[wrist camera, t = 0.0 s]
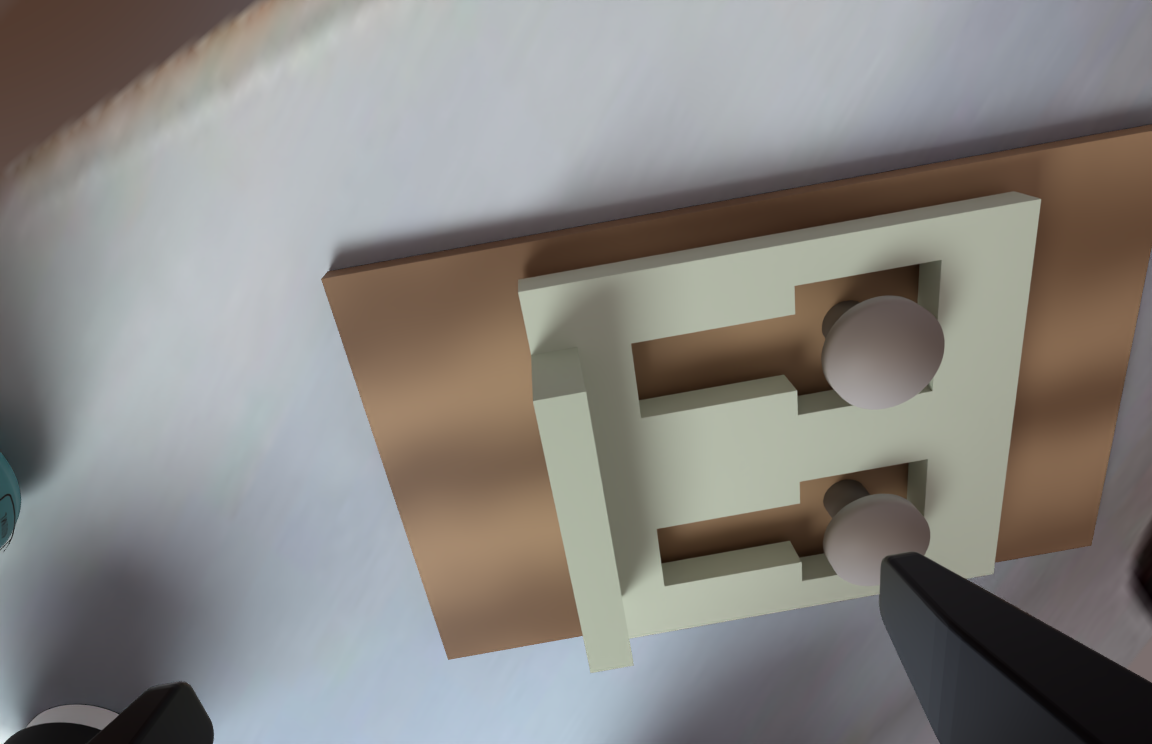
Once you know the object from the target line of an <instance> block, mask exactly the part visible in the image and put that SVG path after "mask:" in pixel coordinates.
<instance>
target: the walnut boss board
mask: <svg viewBox="0 0 1152 744" xmlns="http://www.w3.org/2000/svg"><path fill="white" fill-rule="evenodd" d="M1013 191H1015V192H1019V193H1022V194H1026V195H1029V196H1033V197H1036V198H1040V199H1041V205H1040V213H1039V221H1038V229H1037V237H1036V244H1035V252H1034V260H1033V268H1032V276H1031V283H1030V291H1029V299H1028V307H1027V315H1026V323H1025V330H1024V338H1023V346H1022V354H1021V362H1020V369H1019V377H1018V385H1017V393H1016V401H1015V409H1014V416H1013V424H1012V432H1011V440H1010V448H1009V455H1008V463H1007V471H1006V479H1005V487H1004V495H1003V502H1002V510H1001V518H1000V526H999V534H998V542H997V549H996V557H995V562H1001V561H1007V560H1012V559H1018V558H1023V557H1029V556H1035V555H1040V554H1046V553H1052V552H1057V551H1063V550H1068V549H1074V548H1080V547H1085V546H1091V545H1092V540H1093V535H1094V530H1095V525H1096V520H1097V515H1098V510H1099V505H1100V500H1101V495H1102V490H1103V485H1104V480H1105V475H1106V470H1107V465H1108V460H1109V455H1110V450H1111V446H1112V441H1113V436H1114V431H1115V426H1116V421H1117V416H1118V411H1119V406H1120V401H1121V396H1122V391H1123V386H1124V381H1125V376H1126V371H1127V366H1128V361H1129V356H1130V351H1131V347H1132V342H1133V337H1134V332H1135V327H1136V322H1137V317H1138V312H1139V307H1140V302H1141V297H1142V292H1143V287H1144V282H1145V277H1146V272H1147V267H1148V262H1149V257H1150V252H1151V248H1152V124H1151V125H1145V126H1140V127H1134V128H1129V129H1123V130H1117V131H1112V132H1106V133H1101V134H1095V135H1089V136H1084V137H1078V138H1073V139H1067V140H1061V141H1056V142H1050V143H1045V144H1039V145H1033V146H1028V147H1022V148H1017V149H1011V150H1005V151H1000V152H994V153H989V154H983V155H977V156H972V157H966V158H961V159H955V160H949V161H944V162H938V163H933V164H927V165H921V166H916V167H910V168H904V169H899V170H893V171H888V172H882V173H876V174H871V175H865V176H860V177H854V178H848V179H843V180H837V181H832V182H826V183H820V184H815V185H809V186H804V187H798V188H792V189H787V190H781V191H776V192H770V193H764V194H759V195H753V196H748V197H742V198H736V199H731V200H725V201H720V202H714V203H708V204H703V205H697V206H692V207H686V208H680V209H675V210H669V211H664V212H658V213H652V214H647V215H641V216H636V217H630V218H624V219H619V220H613V221H608V222H602V223H596V224H591V225H585V226H579V227H574V228H568V229H563V230H557V231H551V232H546V233H540V234H535V235H529V236H523V237H518V238H512V239H507V240H501V241H495V242H490V243H484V244H479V245H473V246H467V247H462V248H456V249H451V250H445V251H439V252H434V253H428V254H423V255H417V256H411V257H406V258H400V259H395V260H389V261H383V262H378V263H372V264H367V265H361V266H355V267H350V268H344V269H339V270H333V271H328V272H327V273H326V274H325V275H324V277H323V278H322V279H321V280H322V283H323V286H324V289H325V292H326V295H327V298H328V301H329V304H330V307H331V310H332V313H333V316H334V319H335V322H336V325H337V328H338V331H339V334H340V337H341V340H342V343H343V346H344V349H345V352H346V355H347V358H348V361H349V364H350V367H351V370H352V373H353V376H354V379H355V382H356V385H357V388H358V391H359V394H360V397H361V400H362V403H363V406H364V409H365V412H366V415H367V418H368V421H369V424H370V427H371V430H372V433H373V436H374V439H375V442H376V445H377V448H378V451H379V454H380V457H381V460H382V463H383V466H384V469H385V472H386V475H387V478H388V481H389V484H390V487H391V490H392V493H393V496H394V499H395V502H396V505H397V508H398V511H399V514H400V517H401V520H402V522H403V525H404V528H405V531H406V534H407V537H408V540H409V543H410V546H411V549H412V552H413V555H414V558H415V561H416V564H417V567H418V570H419V573H420V576H421V579H422V582H423V585H424V588H425V591H426V594H427V597H428V600H429V603H430V606H431V609H432V612H433V615H434V618H435V621H436V624H437V627H438V630H439V633H440V636H441V639H442V642H443V645H444V648H445V651H446V654H447V657H448V660H449V659H455V658H461V657H466V656H472V655H478V654H483V653H489V652H494V651H500V650H506V649H511V648H517V647H523V646H528V645H534V644H539V643H545V642H551V641H556V640H562V639H568V638H573V637H579V636H583V634H582V630H581V625H580V620H579V615H578V611H577V606H576V601H575V597H574V592H573V587H572V583H571V578H570V573H569V568H568V564H567V559H566V554H565V550H564V545H563V540H562V536H561V531H560V526H559V521H558V517H557V512H556V507H555V503H554V498H553V493H552V489H551V484H550V479H549V475H548V470H547V465H546V460H545V456H544V451H543V446H542V442H541V437H540V432H539V428H538V423H537V418H536V413H535V409H534V404H533V391H532V364H531V352H530V347H529V342H528V338H527V333H526V328H525V323H524V318H523V313H522V309H521V304H520V299H519V294H518V280H519V279H525V278H530V277H536V276H542V275H547V274H553V273H558V272H564V271H570V270H575V269H581V268H586V267H592V266H598V265H603V264H609V263H615V262H620V261H626V260H631V259H637V258H643V257H648V256H654V255H659V254H665V253H671V252H676V251H682V250H687V249H693V248H699V247H704V246H710V245H715V244H721V243H727V242H732V241H738V240H743V239H749V238H755V237H760V236H766V235H771V234H777V233H783V232H788V231H794V230H800V229H805V228H811V227H816V226H822V225H828V224H833V223H839V222H844V221H850V220H856V219H861V218H867V217H872V216H878V215H884V214H889V213H895V212H900V211H906V210H912V209H917V208H923V207H928V206H934V205H940V204H945V203H951V202H956V201H962V200H968V199H973V198H979V197H985V196H990V195H996V194H1001V193H1007V192H1013ZM919 266H920V264H915V265H909V266H904V267H898V268H893V269H887V270H881V271H876V272H870V273H865V274H859V275H853V276H848V277H842V278H836V279H831V280H825V281H820V282H814V283H808V284H803V285H797V286H794V287H795V314H794V315H789V316H783V317H777V318H772V319H766V320H761V321H755V322H749V323H744V324H738V325H733V326H727V327H721V328H716V329H710V330H704V331H699V332H693V333H688V334H682V335H676V336H671V337H665V338H660V339H654V340H648V341H643V342H637V343H632V344H631V348H632V355H633V362H634V370H635V377H636V384H637V391H638V399H639V400H644V399H649V398H655V397H661V396H666V395H672V394H678V393H683V392H689V391H694V390H700V389H706V388H711V387H717V386H722V385H728V384H734V383H739V382H745V381H751V380H756V379H762V378H767V377H773V376H779V375H785V376H786V378H787V379H788V380H789V381H790V382H791V384H792V385H793V386H794V387H795V389H796V390H797V396H801V395H806V394H812V393H817V392H823V391H829V390H835V391H836V392H837V393H838V394H839V395H840V397H842V398H843V399H844V400H845V401H846V402H848V403H850V404H851V405H854V406H856V407H859V408H863V409H871V410H878V409H886V408H890V407H894V406H896V405H899V404H902V403H904V402H906V401H908V400H909V399H911V398H913V397H914V396H915V395H917V394H918V393H919V392H921V391H922V390H923V389H924V388H925V387H926V386H927V385H928V384H929V382H930V381H931V380H932V379H933V377H934V376H935V374H936V372H937V371H938V369H939V367H940V364H941V362H942V358H943V355H944V348H945V340H944V334H943V330H942V327H941V325H940V323H939V322H938V320H937V319H936V318H935V316H934V315H933V314H931V313H930V312H929V311H928V310H926V309H925V308H923V307H922V306H920V305H918V304H917V303H918V284H919ZM908 467H909V462H908V463H903V464H897V465H891V466H886V467H880V468H875V469H869V470H863V471H858V472H852V473H846V474H841V475H835V476H830V477H824V478H818V479H813V480H807V481H802V482H800V504H794V505H789V506H783V507H777V508H772V509H766V510H761V511H755V512H749V513H744V514H738V515H732V516H727V517H721V518H716V519H710V520H704V521H699V522H693V523H687V524H682V525H676V526H671V527H665V528H659V529H657V536H658V543H659V551H660V558H661V564H662V563H667V562H673V561H678V560H684V559H690V558H695V557H701V556H707V555H712V554H718V553H723V552H729V551H735V550H740V549H746V548H752V547H757V546H763V545H768V544H774V543H780V542H785V541H790V542H791V544H792V546H793V547H794V549H795V551H796V553H797V555H798V556H799V558H801V557H806V556H812V555H818V554H823V553H825V555H826V558H827V559H828V561H829V563H830V564H831V566H832V568H833V569H834V571H835V572H836V573H837V575H838V576H839V577H841V578H842V579H843V580H845V581H847V582H849V583H852V584H855V585H860V586H876V585H880V566H881V562H882V559H883V558H884V557H886V556H888V555H893V554H899V553H904V552H910V551H912V552H917V553H920V554H922V555H925V553H926V551H927V549H928V546H929V543H930V528H929V525H928V522H927V521H926V519H925V518H924V517H923V515H922V514H921V513H920V512H919V511H918V510H917V509H916V507H915V506H914V505H913V504H912V503H911V502H910V501H908V500H907V485H908Z"/></svg>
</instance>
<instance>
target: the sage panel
mask: <svg viewBox="0 0 1152 744" xmlns="http://www.w3.org/2000/svg"><path fill="white" fill-rule="evenodd" d="M1040 205H1041V199H1040V198H1036V197H1033V196H1029V195H1026V194H1022V193H1019V192H1015V191H1013V192H1007V193H1001V194H996V195H990V196H985V197H979V198H973V199H968V200H962V201H956V202H951V203H945V204H940V205H934V206H928V207H923V208H917V209H912V210H906V211H900V212H895V213H889V214H884V215H878V216H872V217H867V218H861V219H856V220H850V221H844V222H839V223H833V224H828V225H822V226H816V227H811V228H805V229H800V230H794V231H788V232H783V233H777V234H771V235H766V236H760V237H755V238H749V239H743V240H738V241H732V242H727V243H721V244H715V245H710V246H704V247H699V248H693V249H687V250H682V251H676V252H671V253H665V254H659V255H654V256H648V257H643V258H637V259H631V260H626V261H620V262H615V263H609V264H603V265H598V266H592V267H586V268H581V269H575V270H570V271H564V272H558V273H553V274H547V275H542V276H536V277H530V278H525V279H519V280H518V294H519V299H520V304H521V309H522V313H523V318H524V323H525V328H526V333H527V338H528V342H529V347H530V352H531V364H532V391H533V404H534V409H535V413H536V418H537V423H538V428H539V432H540V437H541V442H542V446H543V451H544V456H545V460H546V465H547V470H548V475H549V479H550V484H551V489H552V493H553V498H554V503H555V507H556V512H557V517H558V521H559V526H560V531H561V536H562V540H563V545H564V550H565V554H566V559H567V564H568V568H569V573H570V578H571V583H572V587H573V592H574V597H575V601H576V606H577V611H578V615H579V620H580V625H581V630H582V634H583V639H584V644H585V648H586V653H587V658H588V662H589V667H590V672H591V673H594V672H600V671H605V670H611V669H616V668H622V667H628V666H633V665H634V664H633V658H632V653H631V647H630V641H629V639H630V638H636V637H641V636H647V635H653V634H658V633H664V632H670V631H675V630H681V629H686V628H692V627H698V626H703V625H709V624H715V623H720V622H726V621H731V620H737V619H743V618H748V617H754V616H760V615H765V614H771V613H776V612H782V611H788V610H793V609H799V608H805V607H810V606H816V605H821V604H827V603H833V602H838V601H844V600H850V599H855V598H861V597H867V596H872V595H878V594H879V593H880V585H876V586H860V585H855V584H852V583H849V582H847V581H845V580H843V579H842V578H841V577H839V576H838V575H837V573H836V572H835V571H834V569H833V568H832V566H831V564H830V563H829V561H828V559H827V558H826V555H825V553H823V554H818V555H812V556H806V557H801V558H799V556H798V555H797V553H796V551H795V549H794V547H793V546H792V544H791V542H790V541H785V542H780V543H774V544H768V545H763V546H757V547H752V548H746V549H740V550H735V551H729V552H723V553H718V554H712V555H707V556H701V557H695V558H690V559H684V560H678V561H673V562H667V563H662V564H661V558H660V551H659V543H658V536H657V529H659V528H665V527H671V526H676V525H682V524H687V523H693V522H699V521H704V520H710V519H716V518H721V517H727V516H732V515H738V514H744V513H749V512H755V511H761V510H766V509H772V508H777V507H783V506H789V505H794V504H800V482H802V481H807V480H813V479H818V478H824V477H830V476H835V475H841V474H846V473H852V472H858V471H863V470H869V469H875V468H880V467H886V466H891V465H897V464H903V463H908V462H909V467H908V485H907V500H908V501H910V502H911V503H912V504H913V505H914V506H915V507H916V509H917V510H918V511H919V512H920V513H921V514H922V515H923V517H924V518H925V519H926V521H927V522H928V525H929V528H930V543H929V546H928V549H927V551H926V553H925V555H924V556H926V557H928V558H929V559H931V560H933V561H935V562H936V563H938V564H940V565H942V566H944V567H945V568H947V569H949V570H951V571H953V572H954V573H956V574H958V575H960V576H962V577H963V578H965V579H968V578H973V577H979V576H985V575H990V574H993V573H994V565H995V557H996V549H997V542H998V534H999V526H1000V518H1001V510H1002V502H1003V495H1004V487H1005V479H1006V471H1007V463H1008V455H1009V448H1010V440H1011V432H1012V424H1013V416H1014V409H1015V401H1016V393H1017V385H1018V377H1019V369H1020V362H1021V354H1022V346H1023V338H1024V330H1025V323H1026V315H1027V307H1028V299H1029V291H1030V283H1031V276H1032V268H1033V260H1034V252H1035V244H1036V237H1037V229H1038V221H1039V213H1040ZM915 264H920V266H919V284H918V303H917V304H918V305H920V306H922V307H923V308H925V309H926V310H928V311H929V312H930V313H931V314H933V315H934V316H935V318H936V319H937V320H938V322H939V323H940V325H941V327H942V330H943V334H944V340H945V348H944V355H943V358H942V362H941V364H940V367H939V369H938V371H937V372H936V374H935V376H934V377H933V379H932V380H931V381H930V382H929V384H928V385H927V386H926V387H925V388H924V389H923V390H922V391H921V392H919V393H918V394H917V395H915V396H914V397H913V398H911V399H909V400H908V401H906V402H904V403H902V404H899V405H896V406H894V407H890V408H886V409H878V410H871V409H863V408H859V407H856V406H854V405H851V404H850V403H848V402H846V401H845V400H844V399H843V398H842V397H840V395H839V394H838V393H837V392H836V391H835V390H829V391H823V392H817V393H812V394H806V395H801V396H797V390H796V389H795V387H794V386H793V385H792V384H791V382H790V381H789V380H788V379H787V378H786V376H785V375H779V376H773V377H767V378H762V379H756V380H751V381H745V382H739V383H734V384H728V385H722V386H717V387H711V388H706V389H700V390H694V391H689V392H683V393H678V394H672V395H666V396H661V397H655V398H649V399H644V400H639V399H638V391H637V384H636V377H635V370H634V362H633V355H632V348H631V344H632V343H637V342H643V341H648V340H654V339H660V338H665V337H671V336H676V335H682V334H688V333H693V332H699V331H704V330H710V329H716V328H721V327H727V326H733V325H738V324H744V323H749V322H755V321H761V320H766V319H772V318H777V317H783V316H789V315H794V314H795V287H794V286H797V285H803V284H808V283H814V282H820V281H825V280H831V279H836V278H842V277H848V276H853V275H859V274H865V273H870V272H876V271H881V270H887V269H893V268H898V267H904V266H909V265H915Z"/></svg>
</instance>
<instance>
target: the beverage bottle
mask: <svg viewBox="0 0 1152 744" xmlns="http://www.w3.org/2000/svg"><path fill="white" fill-rule="evenodd" d="M20 507H21V495H20V488H19V485H18V481H17V478H16V476H15V474H14V472H13V469H12V468H11V466H10V464H9V463H8V461H7V460H6V458H5V457H4V456H3V455H2V453H1V452H0V548H1V547H2V546H3V545H4V544H5V543H6V541H7V540H8V538H9V537H10V535H11V533H12V531H13V533H14V529H15V524H16V522H17V519H18V517H19V512H20ZM13 533H12V536H13ZM11 539H12V537H11ZM11 539H10V540H9V541H8V542H9V544H10V541H11ZM8 542H7V543H8ZM7 543H6V544H7ZM6 544H5V545H6ZM9 544H8V545H9ZM5 545H4V546H5ZM4 546H3V547H4ZM3 547H2V548H3ZM7 547H8V546H7ZM7 547H6V548H7ZM2 548H1V549H2ZM1 549H0V550H1ZM5 550H6V549H5ZM5 550H4V551H5Z"/></svg>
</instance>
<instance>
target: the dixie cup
mask: <svg viewBox="0 0 1152 744" xmlns="http://www.w3.org/2000/svg"><path fill="white" fill-rule="evenodd" d="M118 715H119V714H117V713H115V712H113V711H110V710H107V709H104V708H100V707H95V706H89V705H64V706H58V707H54V708H51V709H48V710H46V711H44V712H42V713H40V714H39V715H37V716H36V717H35V718H34V719H33V720H32V721H31V722H30V723H29V724H28V725H27V727H26V728H25V729H23V730H20V731H19V732H17V733H15V734H14V735H12V736H11V737H10V738H9V739H8V740H7V741H6V742H5V743H4V744H87V743H88V742H89V741H90V740H91V739H92V738H93V737H95V736H96V735H97V734H98V733H99V732H100V731H101V730H102V729H104V728H105V727H106V726H107V725H108V724H109V723H110V722H112V721H113V720H114V719H115V718H116V717H117V716H118Z"/></svg>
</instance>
